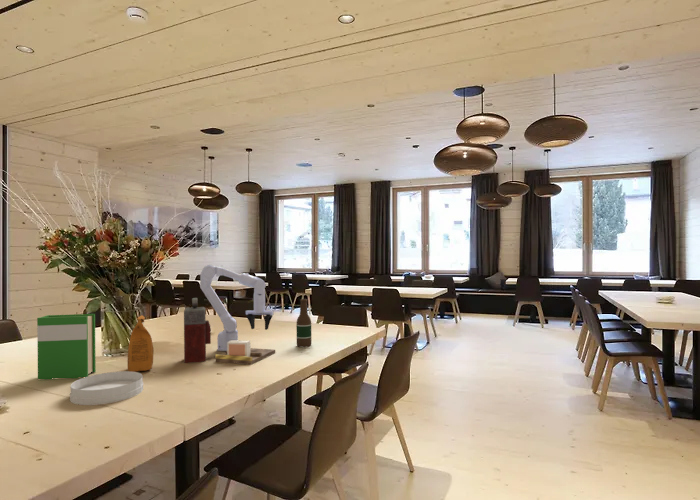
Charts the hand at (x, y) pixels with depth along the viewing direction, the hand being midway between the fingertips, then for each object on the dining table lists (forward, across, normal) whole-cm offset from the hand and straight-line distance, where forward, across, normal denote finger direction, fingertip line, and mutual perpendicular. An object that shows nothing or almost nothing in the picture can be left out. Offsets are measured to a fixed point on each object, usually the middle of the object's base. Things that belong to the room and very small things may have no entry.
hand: (259, 329), depth 215 cm
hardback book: (+10, -53, -62) cm, 82 cm away
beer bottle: (+10, +21, +9) cm, 24 cm away
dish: (+10, -20, -76) cm, 79 cm away
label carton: (+8, +2, -26) cm, 27 cm away
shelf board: (+9, +3, -19) cm, 22 cm away
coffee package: (+10, -31, -47) cm, 57 cm away
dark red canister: (+10, -17, -28) cm, 34 cm away
